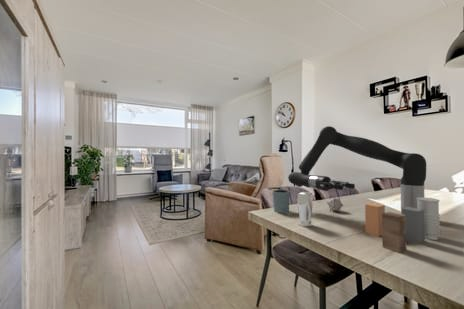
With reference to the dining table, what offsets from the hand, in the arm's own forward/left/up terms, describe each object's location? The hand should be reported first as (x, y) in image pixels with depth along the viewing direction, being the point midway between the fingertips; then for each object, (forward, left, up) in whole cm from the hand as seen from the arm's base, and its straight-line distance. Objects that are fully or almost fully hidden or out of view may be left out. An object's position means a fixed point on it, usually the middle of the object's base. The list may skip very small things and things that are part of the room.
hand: (348, 187), depth 98 cm
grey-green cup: (+19, -31, -18) cm, 41 cm away
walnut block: (+3, +24, -18) cm, 30 cm away
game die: (-11, -23, -18) cm, 31 cm away
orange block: (-3, +11, -18) cm, 21 cm away
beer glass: (+19, -6, -18) cm, 27 cm away
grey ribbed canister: (-20, +19, -18) cm, 33 cm away
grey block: (-11, +20, -18) cm, 29 cm away
